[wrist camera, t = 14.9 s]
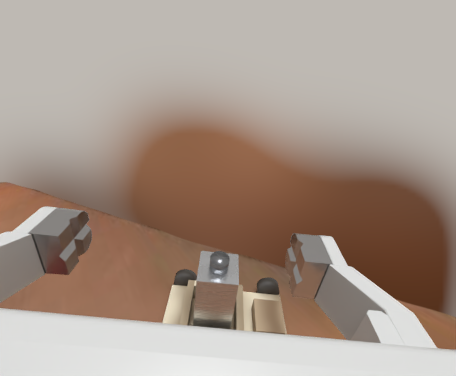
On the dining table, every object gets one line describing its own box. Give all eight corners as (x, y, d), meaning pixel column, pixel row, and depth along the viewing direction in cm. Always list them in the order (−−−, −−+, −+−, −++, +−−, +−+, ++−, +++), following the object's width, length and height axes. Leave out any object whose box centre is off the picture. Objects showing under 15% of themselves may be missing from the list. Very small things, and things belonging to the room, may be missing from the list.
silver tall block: (192, 335, 35) (197, 271, 29) (196, 303, 39) (201, 242, 33) (228, 339, 35) (240, 276, 29) (228, 306, 39) (239, 246, 33)
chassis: (150, 375, 32) (149, 356, 29) (174, 283, 44) (174, 264, 42) (292, 387, 32) (301, 369, 30) (276, 293, 45) (282, 275, 42)
